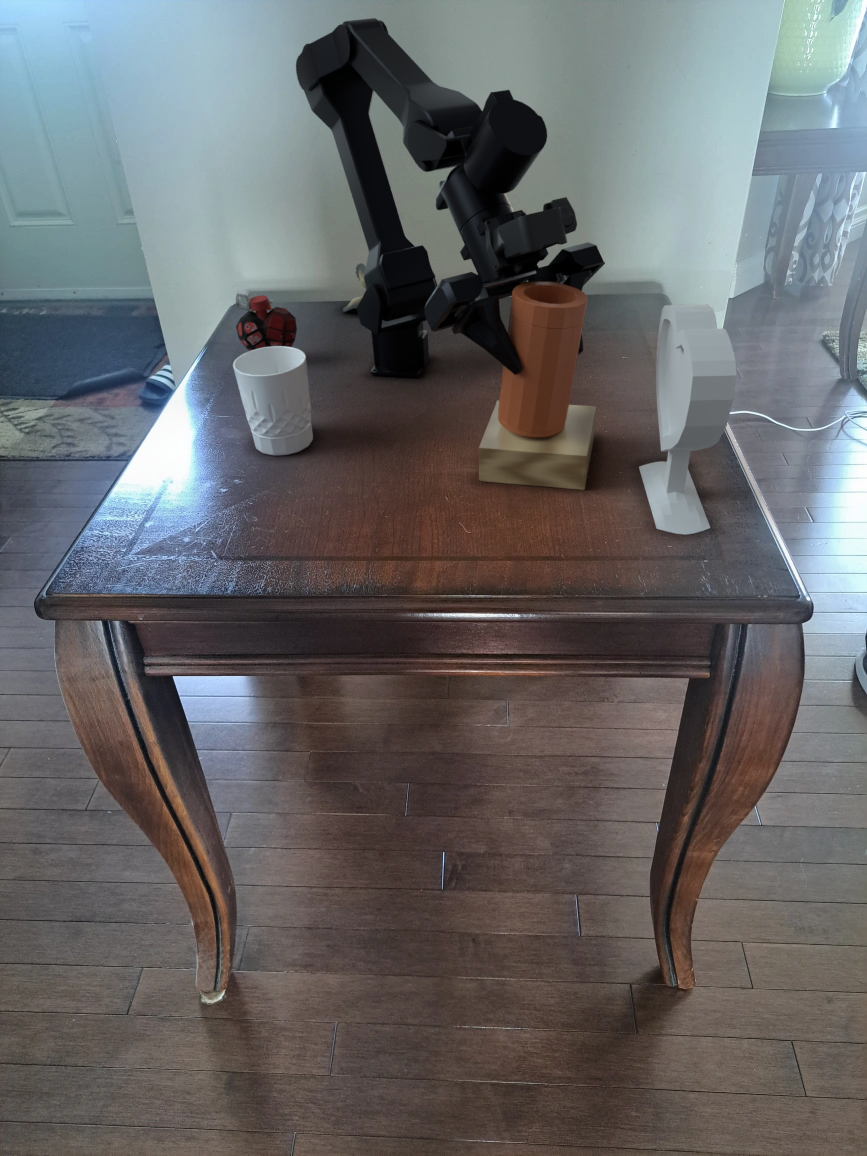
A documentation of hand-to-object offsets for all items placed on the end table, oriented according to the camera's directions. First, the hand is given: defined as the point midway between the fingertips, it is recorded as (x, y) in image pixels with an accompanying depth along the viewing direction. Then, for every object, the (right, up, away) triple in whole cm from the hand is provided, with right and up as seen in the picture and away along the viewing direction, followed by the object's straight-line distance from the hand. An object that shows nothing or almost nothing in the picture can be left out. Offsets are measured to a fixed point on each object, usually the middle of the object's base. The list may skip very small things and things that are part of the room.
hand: (549, 363), depth 82 cm
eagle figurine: (-21, +20, +46) cm, 55 cm away
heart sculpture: (+13, -13, +1) cm, 18 cm away
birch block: (0, -8, +8) cm, 12 cm away
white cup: (-29, -6, +14) cm, 33 cm away
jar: (-1, -5, +5) cm, 7 cm away
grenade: (-34, +8, +32) cm, 47 cm away
